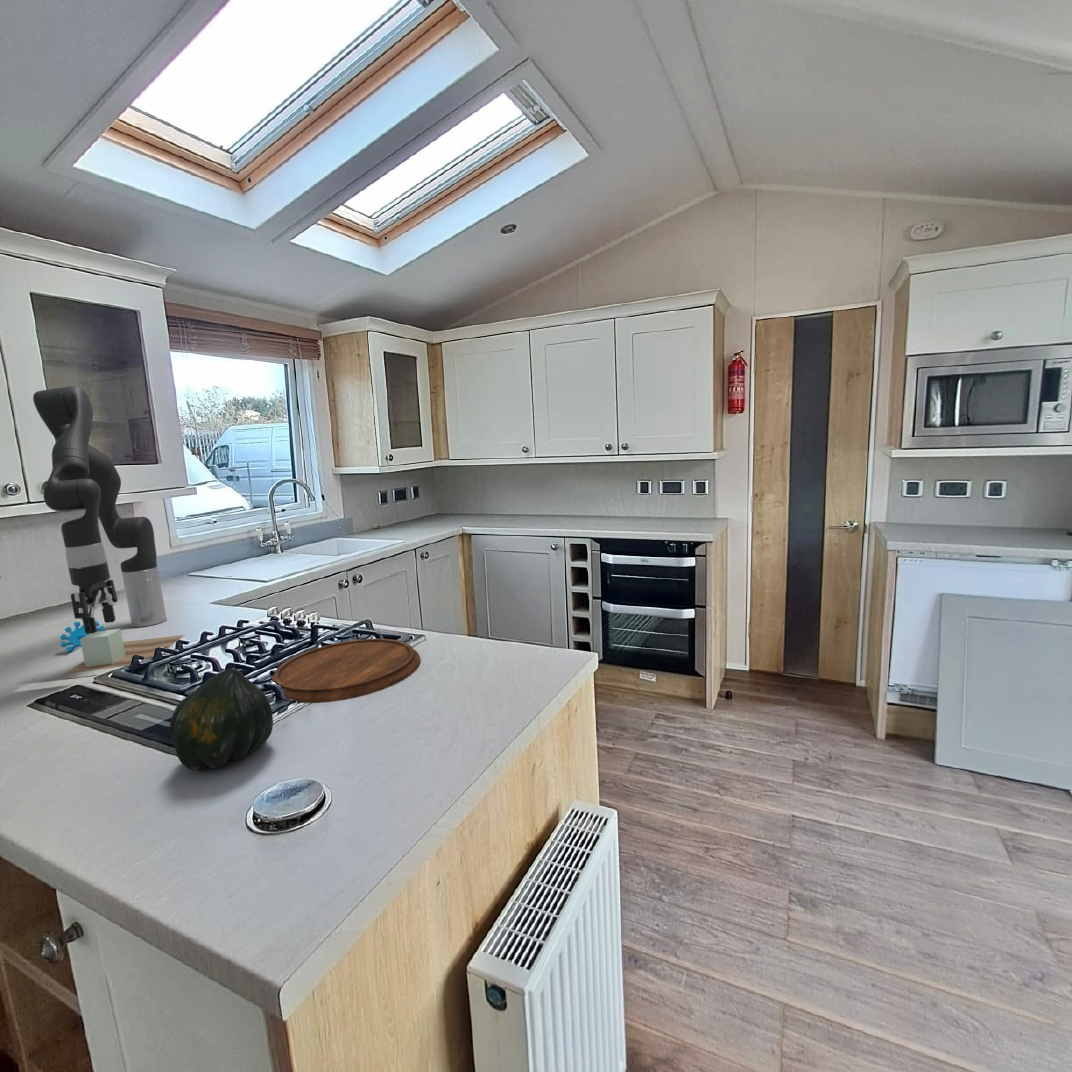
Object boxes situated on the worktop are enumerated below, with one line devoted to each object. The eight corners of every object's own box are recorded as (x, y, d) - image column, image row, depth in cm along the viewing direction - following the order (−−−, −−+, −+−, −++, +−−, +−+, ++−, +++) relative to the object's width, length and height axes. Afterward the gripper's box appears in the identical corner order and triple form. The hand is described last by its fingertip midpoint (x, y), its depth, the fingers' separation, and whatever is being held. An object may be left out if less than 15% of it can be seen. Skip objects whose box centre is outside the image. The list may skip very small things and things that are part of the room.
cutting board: (234, 697, 121) (232, 685, 121) (336, 643, 151) (334, 634, 150) (363, 711, 110) (361, 698, 109) (446, 650, 139) (444, 640, 139)
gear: (53, 651, 154) (65, 618, 160) (61, 662, 159) (72, 629, 165) (103, 650, 158) (112, 617, 164) (109, 660, 162) (118, 628, 168)
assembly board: (114, 648, 159) (110, 629, 158) (186, 640, 162) (182, 620, 161) (65, 679, 138) (60, 657, 137) (148, 669, 140) (144, 647, 140)
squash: (131, 750, 89) (184, 675, 87) (193, 709, 103) (239, 645, 102) (207, 806, 89) (261, 733, 87) (258, 757, 104) (305, 694, 102)
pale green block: (99, 658, 147) (94, 631, 146) (125, 655, 148) (120, 628, 146) (85, 667, 141) (79, 639, 140) (113, 663, 142) (107, 636, 141)
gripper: (86, 558, 147) (100, 620, 149) (51, 571, 133) (66, 639, 136) (119, 555, 148) (132, 617, 151) (88, 567, 134) (102, 635, 137)
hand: (101, 627), depth 143 cm, fingers open, 8 cm apart
